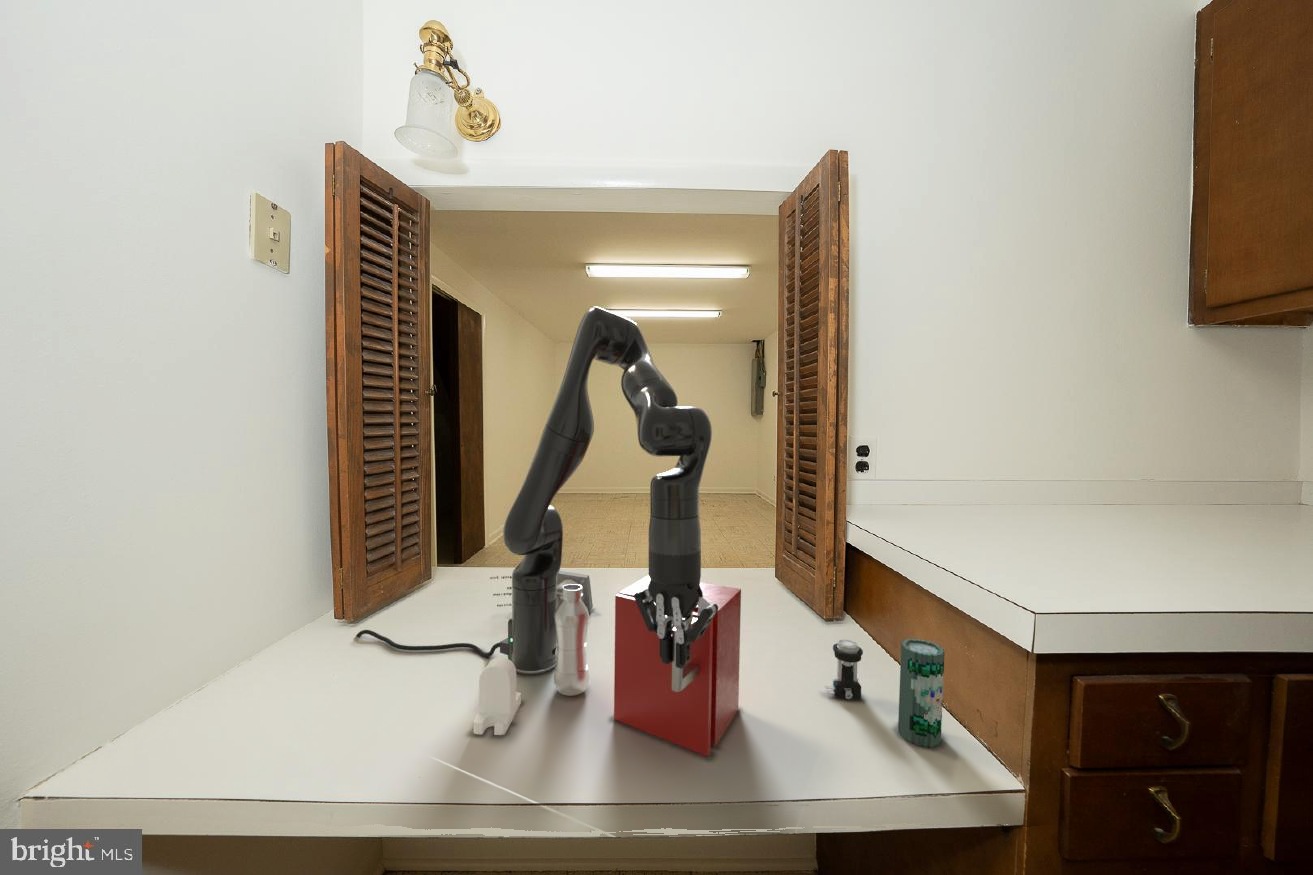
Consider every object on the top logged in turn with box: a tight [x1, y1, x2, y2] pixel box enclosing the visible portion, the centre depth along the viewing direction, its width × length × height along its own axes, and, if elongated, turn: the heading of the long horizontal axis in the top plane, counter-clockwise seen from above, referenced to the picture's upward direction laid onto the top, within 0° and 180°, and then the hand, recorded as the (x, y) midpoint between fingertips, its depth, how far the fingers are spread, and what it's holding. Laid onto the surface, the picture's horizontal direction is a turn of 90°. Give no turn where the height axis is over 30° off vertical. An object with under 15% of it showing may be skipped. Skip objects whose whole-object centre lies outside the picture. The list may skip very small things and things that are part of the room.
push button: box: [824, 639, 864, 700], centre depth 100 cm, size 7×5×10 cm
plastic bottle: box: [553, 584, 590, 697], centre depth 100 cm, size 6×7×20 cm
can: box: [897, 638, 946, 748], centre depth 88 cm, size 6×6×15 cm
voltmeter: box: [489, 570, 594, 612], centre depth 138 cm, size 27×11×10 cm, turn 103°
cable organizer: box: [473, 656, 522, 736], centre depth 91 cm, size 5×10×10 cm, turn 178°
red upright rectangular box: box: [618, 574, 742, 747], centre depth 93 cm, size 12×18×22 cm, turn 63°
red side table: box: [613, 593, 713, 757], centre depth 84 cm, size 7×18×22 cm, turn 58°
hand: (674, 663), depth 77 cm, fingers closed on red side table, 2 cm apart
